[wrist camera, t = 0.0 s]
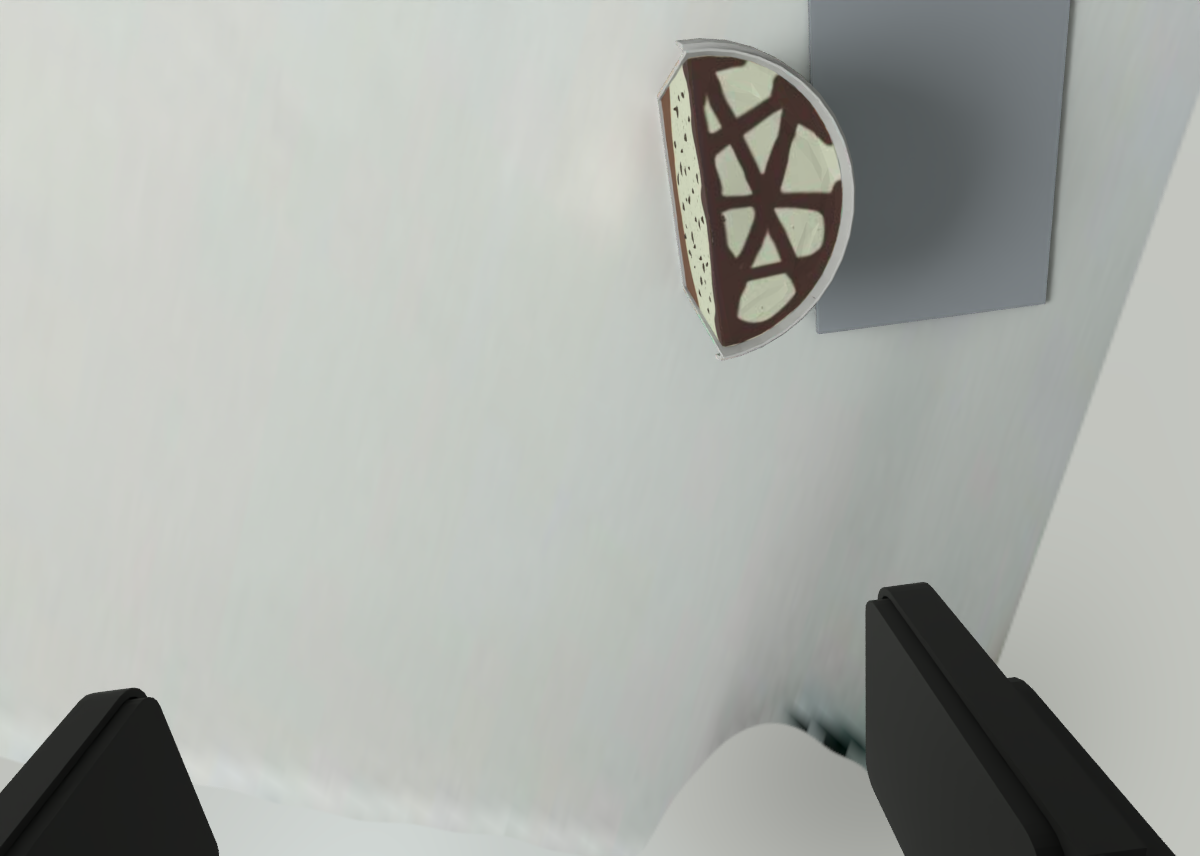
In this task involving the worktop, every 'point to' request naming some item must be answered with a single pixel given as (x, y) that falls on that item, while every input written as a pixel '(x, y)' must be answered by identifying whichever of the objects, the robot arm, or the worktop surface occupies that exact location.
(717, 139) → the food container
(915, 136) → the mat
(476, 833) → the worktop surface
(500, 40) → the worktop surface
